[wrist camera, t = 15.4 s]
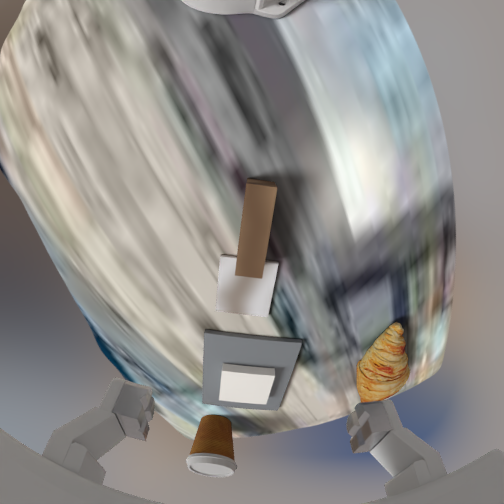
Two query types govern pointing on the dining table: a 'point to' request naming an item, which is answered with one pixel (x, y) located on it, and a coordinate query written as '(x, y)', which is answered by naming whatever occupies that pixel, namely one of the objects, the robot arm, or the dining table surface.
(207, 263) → the dining table surface
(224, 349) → the slate board
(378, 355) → the croissant
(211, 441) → the disposable coffee cup
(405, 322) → the dining table surface
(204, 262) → the dining table surface
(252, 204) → the wooden handled scraper
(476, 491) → the robot arm
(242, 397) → the tile
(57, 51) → the dining table surface
